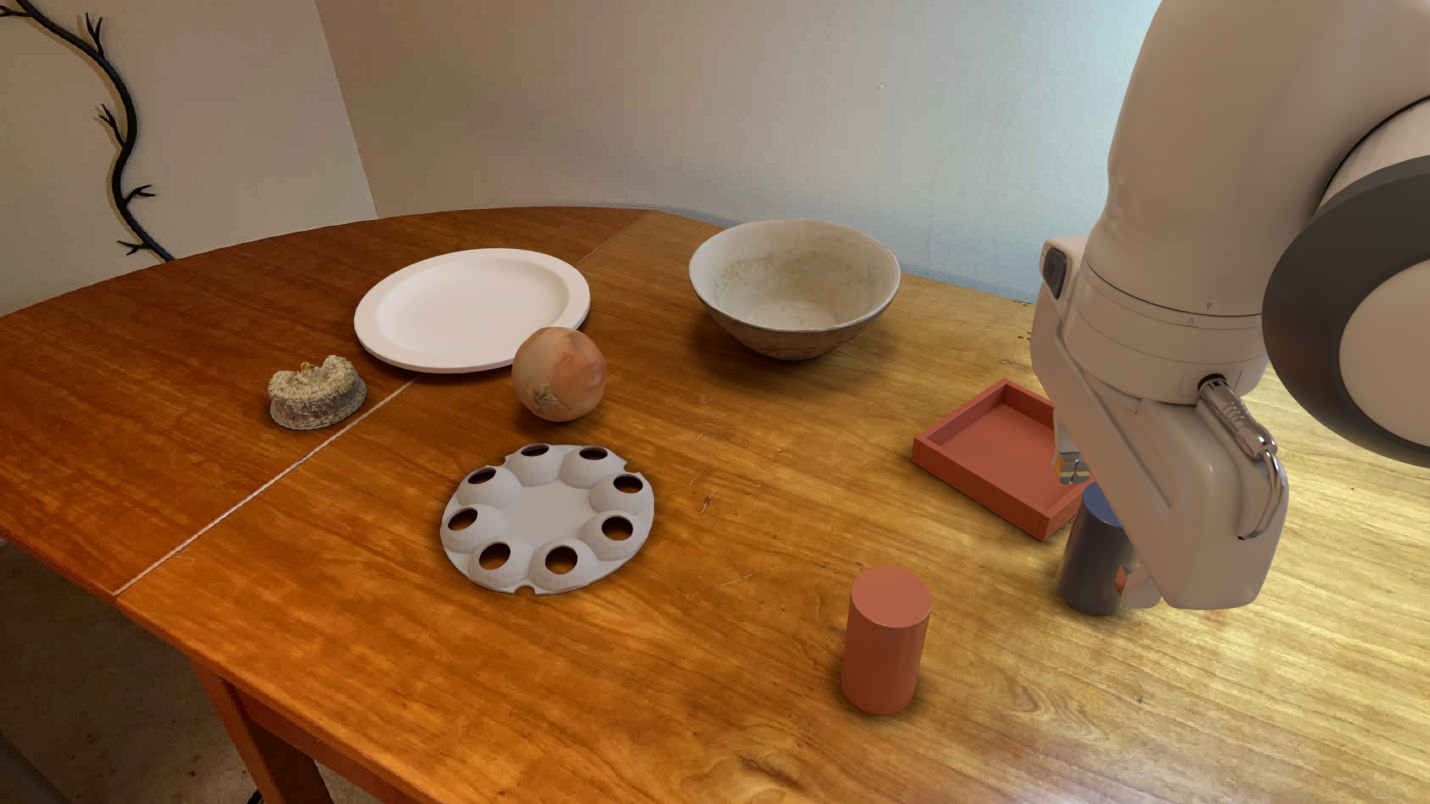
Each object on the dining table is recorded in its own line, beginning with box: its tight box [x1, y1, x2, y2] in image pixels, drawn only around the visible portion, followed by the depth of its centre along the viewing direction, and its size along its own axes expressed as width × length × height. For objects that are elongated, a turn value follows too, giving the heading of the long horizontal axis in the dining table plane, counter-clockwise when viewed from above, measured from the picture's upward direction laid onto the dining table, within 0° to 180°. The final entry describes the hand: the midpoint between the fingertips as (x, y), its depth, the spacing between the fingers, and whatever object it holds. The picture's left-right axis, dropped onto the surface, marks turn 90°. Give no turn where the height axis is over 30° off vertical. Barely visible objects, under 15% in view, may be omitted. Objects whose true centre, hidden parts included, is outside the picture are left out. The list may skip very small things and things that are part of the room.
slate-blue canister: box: [1054, 481, 1139, 616], centre depth 73 cm, size 6×6×10 cm
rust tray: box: [910, 377, 1096, 543], centre depth 88 cm, size 15×15×3 cm
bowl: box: [688, 218, 902, 362], centre depth 105 cm, size 24×24×10 cm
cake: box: [267, 354, 368, 431], centre depth 97 cm, size 10×10×5 cm
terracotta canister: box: [839, 565, 933, 716], centre depth 66 cm, size 6×6×10 cm
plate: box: [353, 247, 591, 374], centre depth 111 cm, size 28×28×2 cm
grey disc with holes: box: [439, 442, 655, 596], centre depth 84 cm, size 20×20×2 cm
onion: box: [511, 327, 607, 423], centre depth 94 cm, size 10×10×10 cm
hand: (1098, 532), depth 51 cm, fingers open, 8 cm apart
